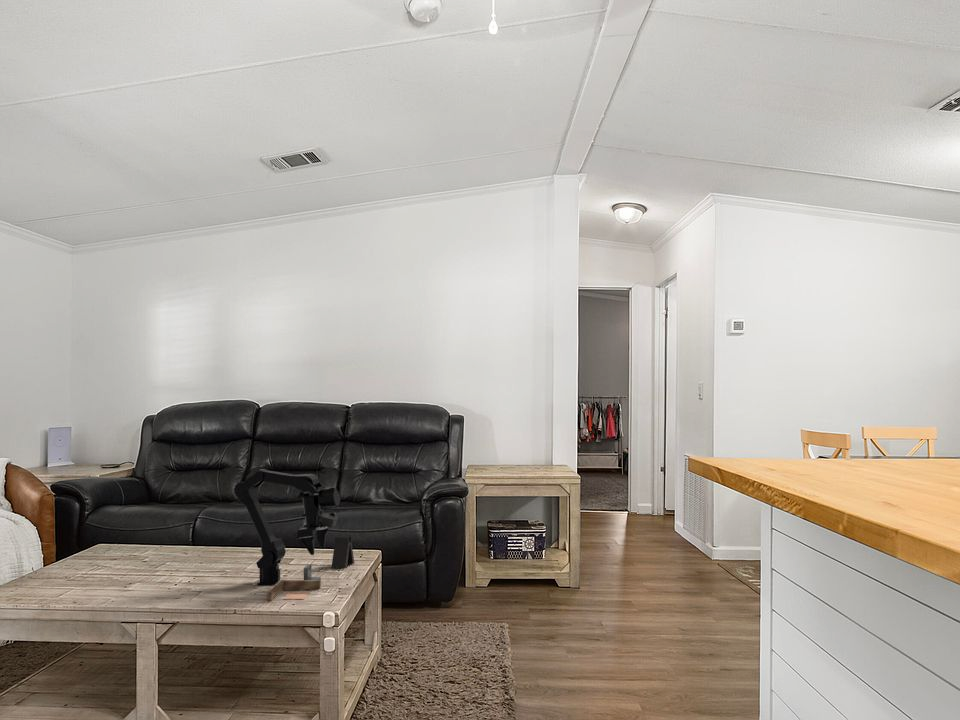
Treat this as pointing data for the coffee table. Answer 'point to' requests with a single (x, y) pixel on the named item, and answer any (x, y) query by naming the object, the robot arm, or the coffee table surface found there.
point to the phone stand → (342, 552)
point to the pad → (296, 595)
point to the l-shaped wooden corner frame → (293, 586)
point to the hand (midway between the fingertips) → (317, 551)
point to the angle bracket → (309, 574)
